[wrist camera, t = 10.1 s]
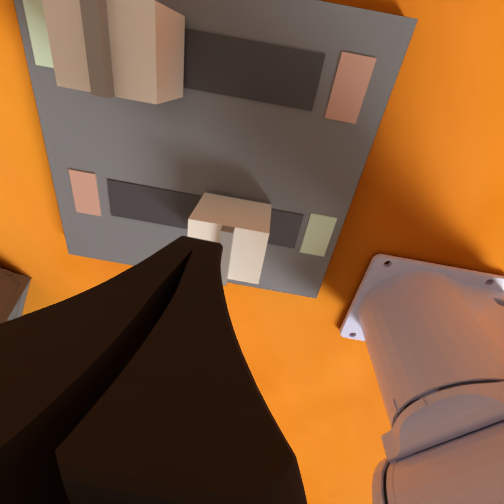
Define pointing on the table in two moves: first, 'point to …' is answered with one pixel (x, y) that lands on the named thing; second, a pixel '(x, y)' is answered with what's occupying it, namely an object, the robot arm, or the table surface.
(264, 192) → the switch panel
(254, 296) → the table surface
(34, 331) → the robot arm
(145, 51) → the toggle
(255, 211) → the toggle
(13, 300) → the electrical switch
